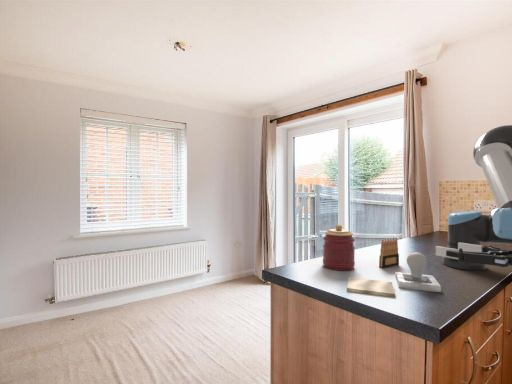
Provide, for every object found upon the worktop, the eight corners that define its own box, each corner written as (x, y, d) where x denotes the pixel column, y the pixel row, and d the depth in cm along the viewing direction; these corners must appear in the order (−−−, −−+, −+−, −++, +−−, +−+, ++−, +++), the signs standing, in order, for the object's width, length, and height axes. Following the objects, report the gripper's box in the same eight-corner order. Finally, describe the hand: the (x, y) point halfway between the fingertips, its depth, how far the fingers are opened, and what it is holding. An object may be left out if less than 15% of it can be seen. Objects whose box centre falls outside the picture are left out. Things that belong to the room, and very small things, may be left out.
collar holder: (432, 281, 103) (432, 275, 103) (440, 292, 92) (440, 286, 92) (395, 277, 108) (395, 271, 108) (398, 287, 96) (399, 281, 96)
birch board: (391, 284, 99) (391, 282, 99) (395, 297, 88) (395, 293, 88) (348, 280, 104) (348, 277, 104) (346, 291, 93) (346, 287, 93)
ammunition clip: (382, 268, 120) (383, 239, 119) (378, 267, 121) (379, 238, 121) (399, 265, 125) (399, 237, 125) (395, 264, 126) (395, 236, 126)
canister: (360, 266, 122) (360, 224, 122) (346, 273, 112) (346, 227, 112) (331, 261, 131) (332, 222, 131) (316, 266, 121) (317, 224, 121)
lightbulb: (402, 281, 103) (403, 250, 103) (419, 281, 103) (419, 250, 103) (413, 287, 97) (414, 254, 96) (430, 287, 97) (431, 254, 97)
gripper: (520, 286, 66) (425, 265, 85) (555, 271, 79) (466, 256, 98) (520, 253, 66) (426, 239, 85) (555, 244, 79) (466, 234, 97)
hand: (447, 248), depth 91 cm, fingers open, 13 cm apart
